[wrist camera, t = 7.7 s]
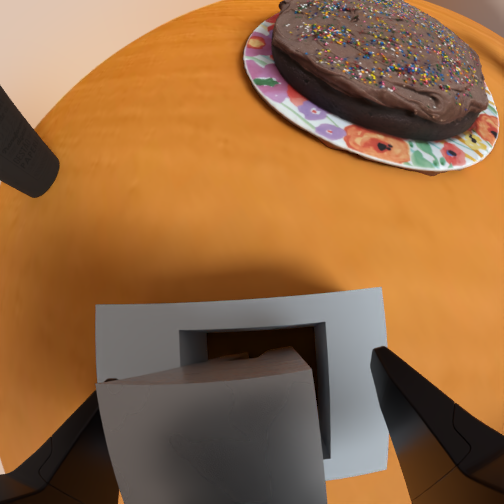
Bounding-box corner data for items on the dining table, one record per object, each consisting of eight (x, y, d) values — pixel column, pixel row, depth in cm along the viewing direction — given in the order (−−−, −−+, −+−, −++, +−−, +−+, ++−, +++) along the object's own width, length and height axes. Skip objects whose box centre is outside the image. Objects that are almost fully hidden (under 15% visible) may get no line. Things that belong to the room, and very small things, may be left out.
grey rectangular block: (300, 409, 16) (329, 545, 3) (234, 416, 16) (140, 541, 3) (291, 346, 17) (311, 369, 4) (225, 355, 17) (95, 383, 5)
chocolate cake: (361, 240, 19) (393, 195, 12) (203, 42, 27) (190, -2, 21) (525, 132, 20) (551, 100, 13) (378, 3, 28) (383, -29, 22)
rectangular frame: (362, 439, 14) (386, 469, 10) (146, 441, 16) (108, 465, 11) (356, 301, 17) (381, 286, 12) (138, 314, 18) (95, 304, 13)
